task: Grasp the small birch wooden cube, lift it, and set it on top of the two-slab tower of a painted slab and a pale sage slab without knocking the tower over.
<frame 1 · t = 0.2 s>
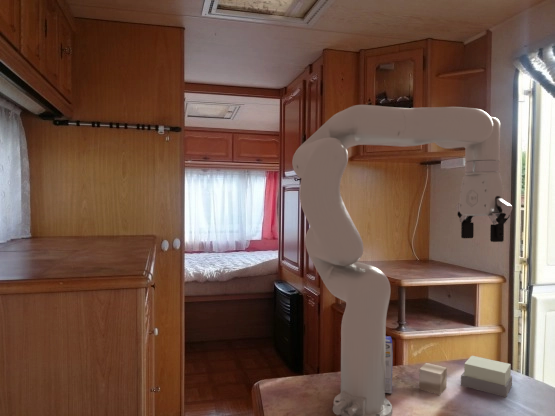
hand: (481, 239, 100), 36 cm above the table, tool pointing down, fingers open, 9 cm apart
birch cube: (432, 388, 100), on the table
ink cartridge box: (371, 388, 101), on the table
tower base block: (486, 387, 102), on the table, touching tower top block
tower top block: (487, 375, 102), point 2 cm above the table, touching tower base block
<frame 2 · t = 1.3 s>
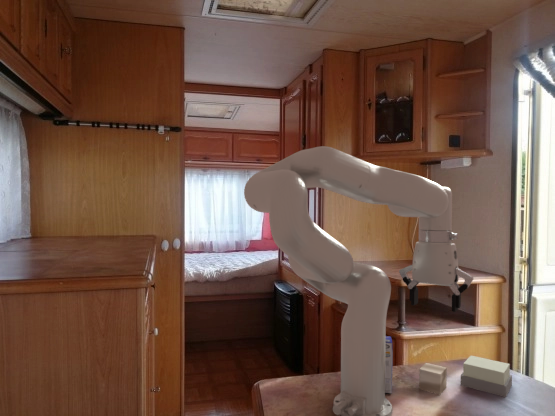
hand: (434, 307, 100), 20 cm above the table, tool pointing down, fingers open, 9 cm apart
nothing on the table moved.
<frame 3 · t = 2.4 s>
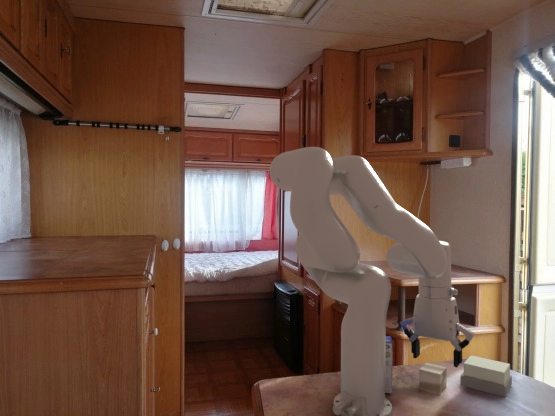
hand: (436, 360, 101), 7 cm above the table, tool pointing down, fingers open, 9 cm apart
nothing on the table moved.
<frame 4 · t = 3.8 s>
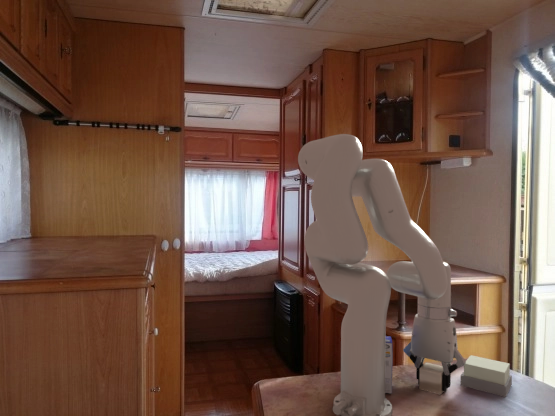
hand: (433, 385, 101), 1 cm above the table, tool pointing down, fingers closed on birch cube, 5 cm apart
birch cube: (433, 388, 101), on the table, touching gripper
everything else where it was.
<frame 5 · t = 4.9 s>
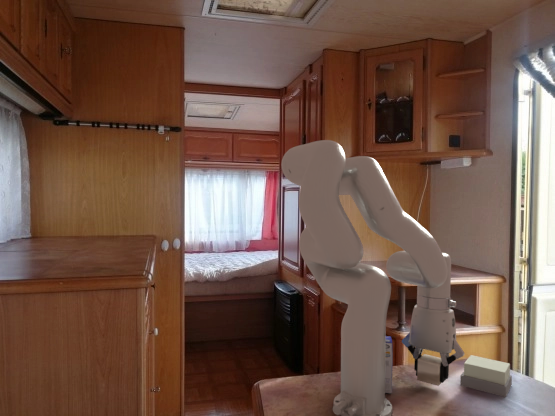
hand: (431, 376, 100), 3 cm above the table, tool pointing down, fingers closed on birch cube, 5 cm apart
birch cube: (430, 379, 100), point 2 cm above the table, touching gripper
everything else where it was.
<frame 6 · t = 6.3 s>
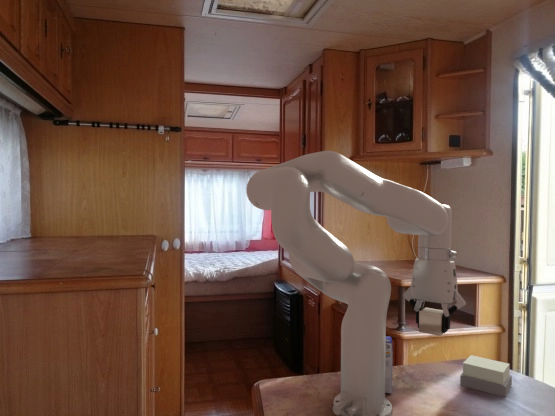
hand: (432, 328, 100), 15 cm above the table, tool pointing down, fingers closed on birch cube, 5 cm apart
birch cube: (432, 331, 100), point 14 cm above the table, touching gripper
everything else where it was.
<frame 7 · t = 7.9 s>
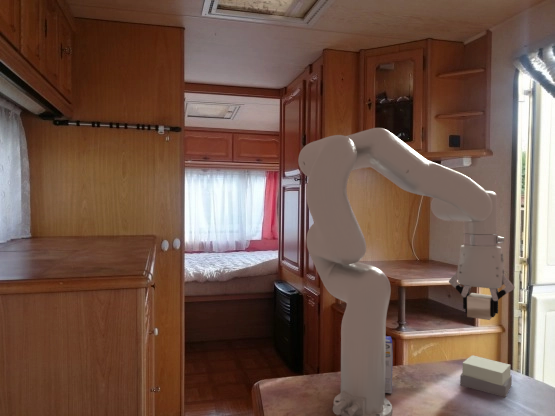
hand: (480, 313, 102), 18 cm above the table, tool pointing down, fingers closed on birch cube, 5 cm apart
birch cube: (480, 316, 102), point 17 cm above the table, touching gripper
everything else where it was.
when the fingers open (8 cm above the table, at t = 10.0 s): birch cube drops 1 cm, point 5 cm above the table.
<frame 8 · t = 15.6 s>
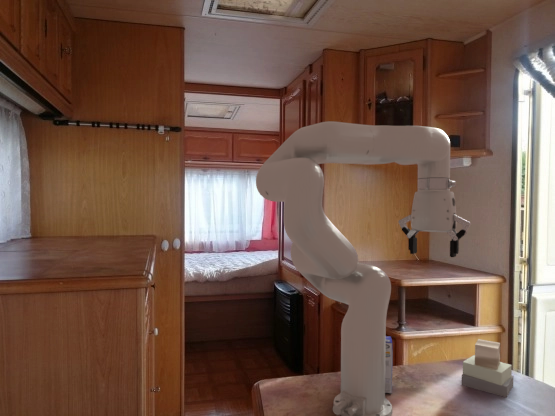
hand: (432, 255, 102), 32 cm above the table, tool pointing down, fingers open, 9 cm apart
birch cube: (487, 363, 102), point 5 cm above the table
everything else where it was.
at the end: birch cube 0.2 cm off-centre on the tower top block, point 3.0 cm above the tower top block's base; birch cube tilted 0°; tower top block 0.2 cm off-centre on the tower base block, point 3.0 cm above the tower base block's base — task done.
